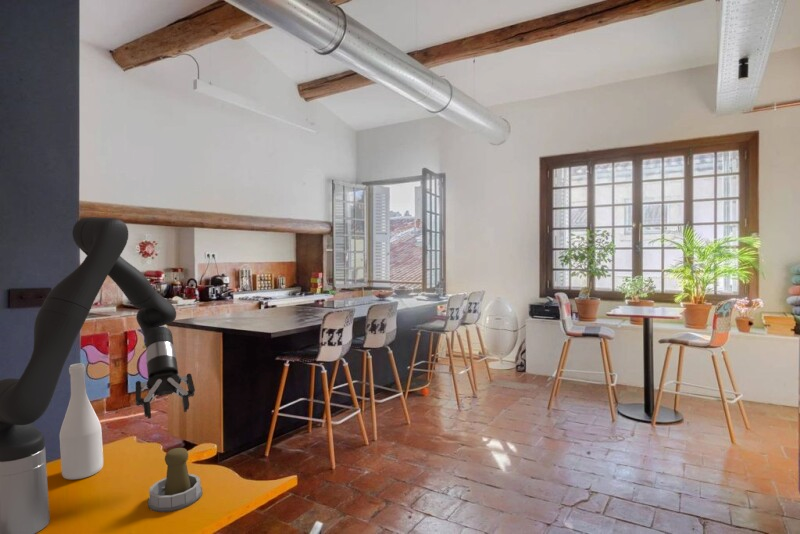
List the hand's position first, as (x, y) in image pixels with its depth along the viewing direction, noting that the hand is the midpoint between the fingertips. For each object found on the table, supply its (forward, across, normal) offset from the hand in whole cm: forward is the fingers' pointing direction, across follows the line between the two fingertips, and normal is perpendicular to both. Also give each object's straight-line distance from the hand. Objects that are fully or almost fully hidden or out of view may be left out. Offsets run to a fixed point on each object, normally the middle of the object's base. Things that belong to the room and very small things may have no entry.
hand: (167, 413), depth 124 cm
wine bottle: (0, -20, +25) cm, 32 cm away
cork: (+20, +1, +4) cm, 20 cm away
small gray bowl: (+20, 0, +5) cm, 21 cm away
